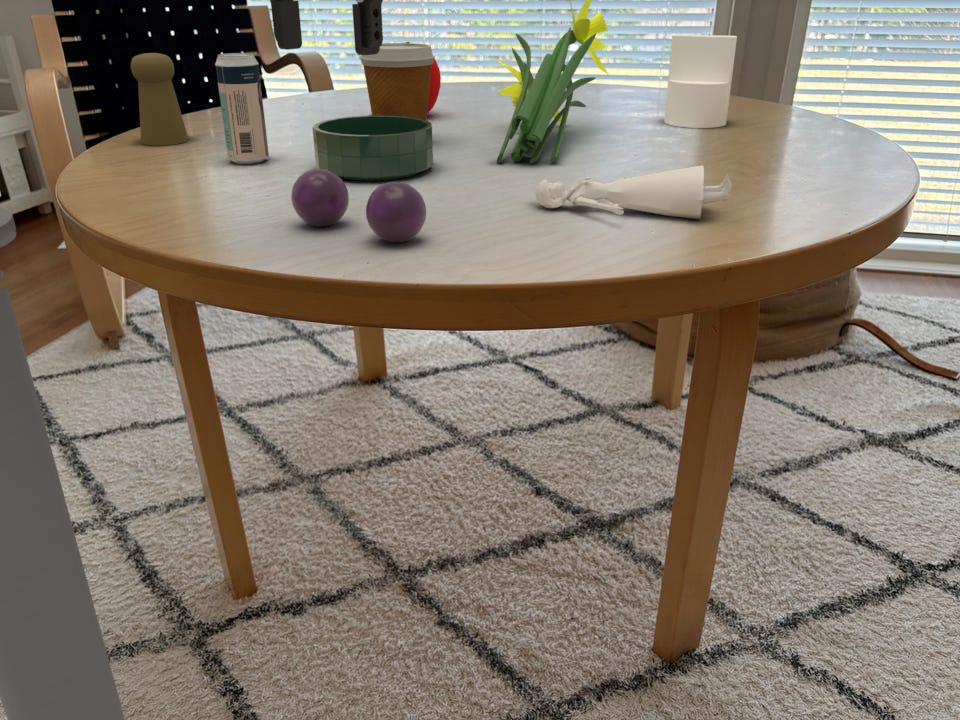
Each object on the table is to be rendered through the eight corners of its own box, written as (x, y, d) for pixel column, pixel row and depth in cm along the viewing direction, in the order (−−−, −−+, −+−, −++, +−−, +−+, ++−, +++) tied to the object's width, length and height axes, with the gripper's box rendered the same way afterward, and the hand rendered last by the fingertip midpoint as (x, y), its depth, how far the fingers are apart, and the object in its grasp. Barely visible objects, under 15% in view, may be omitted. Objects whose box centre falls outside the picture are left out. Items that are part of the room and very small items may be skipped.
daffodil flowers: (434, 166, 98) (497, 57, 124) (537, 229, 101) (577, 109, 126) (501, 49, 87) (555, -45, 112) (615, 123, 89) (642, 15, 115)
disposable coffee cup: (451, 144, 107) (449, 46, 101) (390, 153, 101) (385, 50, 96) (410, 133, 113) (406, 41, 108) (350, 142, 108) (344, 45, 103)
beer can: (277, 159, 98) (266, 53, 93) (248, 167, 94) (235, 57, 89) (249, 155, 100) (236, 51, 95) (219, 162, 97) (204, 55, 92)
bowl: (330, 187, 86) (326, 139, 83) (307, 162, 97) (303, 119, 94) (448, 177, 90) (447, 130, 88) (414, 154, 101) (412, 112, 99)
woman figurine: (737, 180, 68) (525, 185, 72) (734, 232, 70) (527, 234, 74) (726, 152, 79) (542, 158, 82) (724, 198, 81) (543, 201, 84)
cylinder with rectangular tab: (659, 125, 119) (667, 37, 113) (669, 116, 126) (677, 32, 121) (722, 129, 116) (734, 39, 110) (729, 119, 123) (739, 34, 118)
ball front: (376, 253, 66) (372, 192, 64) (361, 236, 70) (357, 178, 68) (434, 246, 68) (433, 186, 65) (417, 229, 72) (415, 173, 70)
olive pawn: (197, 138, 111) (184, 51, 106) (170, 146, 105) (155, 56, 101) (159, 135, 112) (145, 50, 107) (131, 144, 107) (114, 55, 102)
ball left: (299, 235, 70) (293, 178, 68) (290, 220, 74) (284, 166, 72) (356, 229, 72) (352, 173, 70) (344, 215, 76) (339, 161, 74)
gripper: (204, -182, 60) (233, 51, 67) (349, -202, 53) (364, 60, 60) (278, -169, 66) (297, 44, 73) (418, -186, 59) (425, 52, 66)
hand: (328, 51), depth 67 cm, fingers open, 8 cm apart
